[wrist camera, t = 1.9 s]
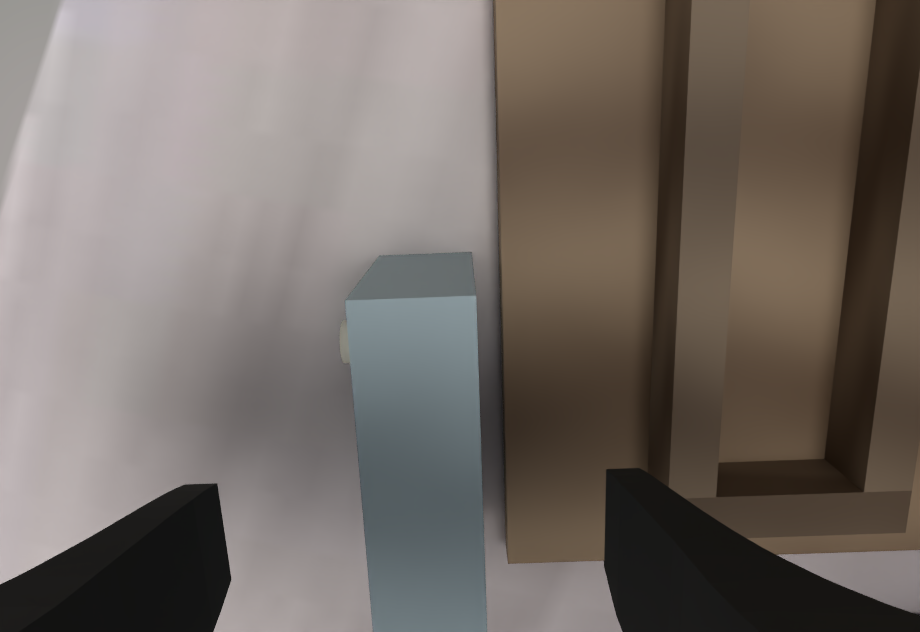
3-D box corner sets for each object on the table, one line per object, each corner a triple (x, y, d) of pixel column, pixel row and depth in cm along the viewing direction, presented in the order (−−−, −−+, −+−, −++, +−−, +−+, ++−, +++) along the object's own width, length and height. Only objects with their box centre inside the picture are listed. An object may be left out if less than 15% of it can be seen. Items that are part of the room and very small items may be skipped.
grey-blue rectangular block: (480, 512, 19) (488, 648, 14) (380, 516, 20) (349, 653, 14) (471, 251, 17) (476, 295, 12) (359, 255, 18) (316, 301, 12)
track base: (965, 527, 19) (1133, 652, 15) (505, 543, 20) (521, 671, 15) (1124, -363, 14) (1476, -636, 9) (485, -334, 14) (499, -587, 9)
